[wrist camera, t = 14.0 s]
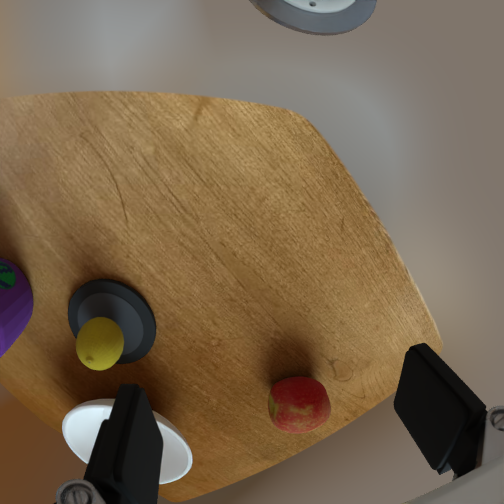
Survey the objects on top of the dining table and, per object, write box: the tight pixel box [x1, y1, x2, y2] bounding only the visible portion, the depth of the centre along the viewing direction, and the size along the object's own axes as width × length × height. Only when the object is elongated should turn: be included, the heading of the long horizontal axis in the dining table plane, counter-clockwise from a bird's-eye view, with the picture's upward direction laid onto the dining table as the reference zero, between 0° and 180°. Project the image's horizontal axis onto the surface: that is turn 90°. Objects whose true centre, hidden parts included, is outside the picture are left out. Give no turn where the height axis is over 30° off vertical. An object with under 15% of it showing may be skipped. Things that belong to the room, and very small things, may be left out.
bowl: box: [62, 399, 192, 484], centre depth 39 cm, size 20×20×7 cm
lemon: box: [76, 317, 124, 370], centre depth 32 cm, size 6×6×8 cm
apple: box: [268, 376, 331, 434], centre depth 38 cm, size 8×8×8 cm
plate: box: [68, 279, 156, 364], centre depth 36 cm, size 12×12×1 cm
